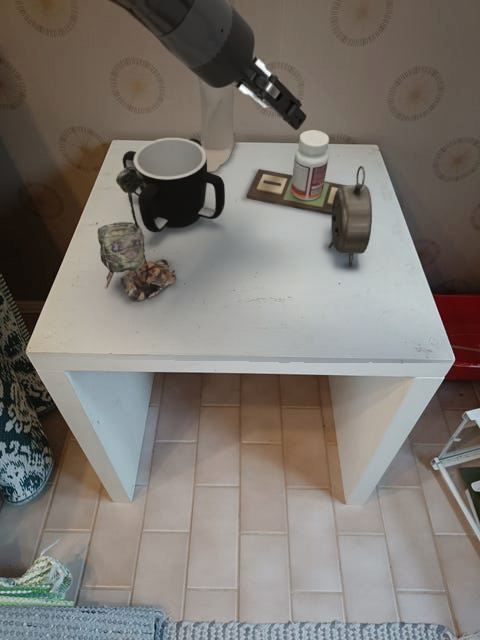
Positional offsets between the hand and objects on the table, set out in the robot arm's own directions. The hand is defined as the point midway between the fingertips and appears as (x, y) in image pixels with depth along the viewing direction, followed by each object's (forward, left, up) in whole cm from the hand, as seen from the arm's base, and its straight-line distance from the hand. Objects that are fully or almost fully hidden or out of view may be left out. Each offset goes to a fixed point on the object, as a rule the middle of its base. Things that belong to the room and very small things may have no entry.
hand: (281, 109), depth 59 cm
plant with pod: (+17, +17, -24) cm, 34 cm away
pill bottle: (-4, -14, -23) cm, 27 cm away
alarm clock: (-13, -1, -24) cm, 27 cm away
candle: (+18, -22, -24) cm, 37 cm away
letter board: (-4, -14, -23) cm, 28 cm away
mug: (+18, -1, -24) cm, 30 cm away
